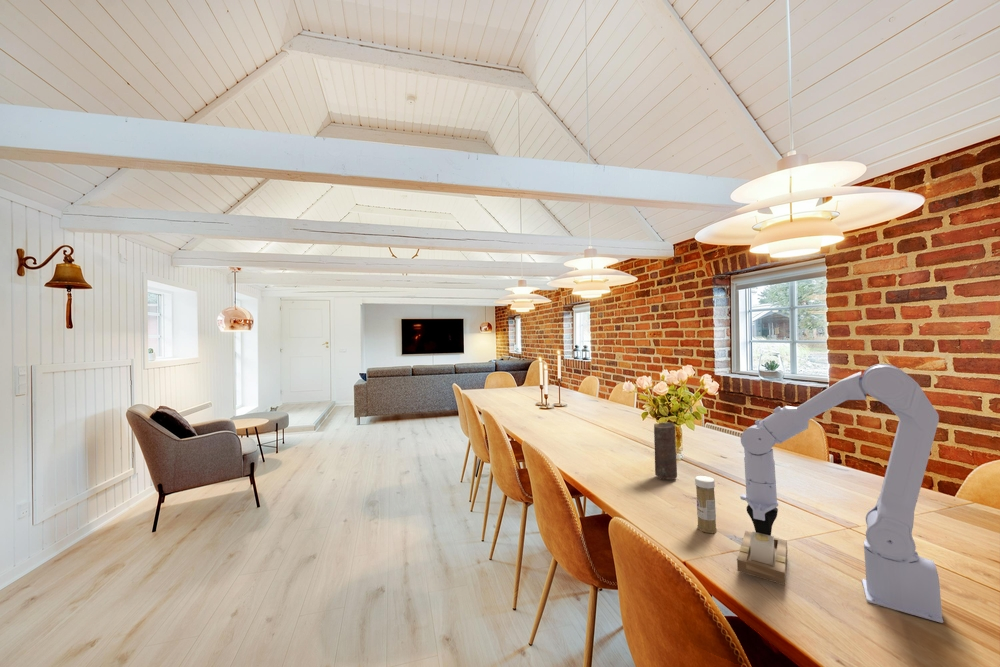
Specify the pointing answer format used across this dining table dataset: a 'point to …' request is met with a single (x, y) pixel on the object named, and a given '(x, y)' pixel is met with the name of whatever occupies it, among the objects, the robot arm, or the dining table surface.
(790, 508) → the dining table surface
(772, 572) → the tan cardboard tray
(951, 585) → the dining table surface
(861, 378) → the robot arm
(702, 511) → the sprinkles bottle
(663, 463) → the candle
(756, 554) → the block
